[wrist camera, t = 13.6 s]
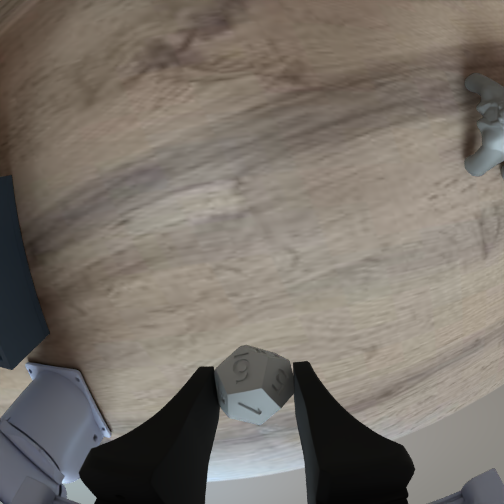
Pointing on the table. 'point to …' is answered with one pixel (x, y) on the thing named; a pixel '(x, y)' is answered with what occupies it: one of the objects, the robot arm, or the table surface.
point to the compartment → (16, 288)
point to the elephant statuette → (487, 124)
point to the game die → (253, 384)
